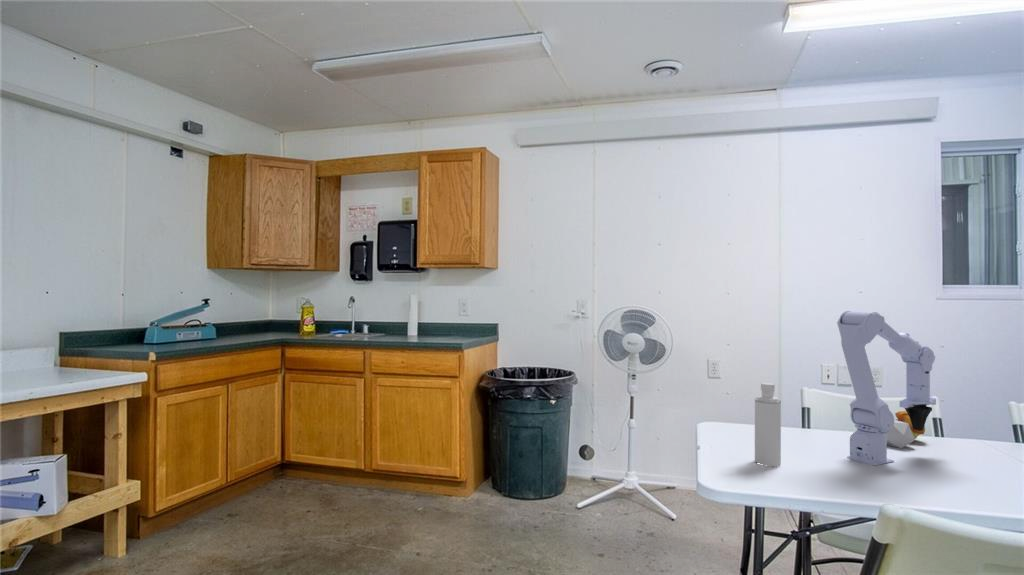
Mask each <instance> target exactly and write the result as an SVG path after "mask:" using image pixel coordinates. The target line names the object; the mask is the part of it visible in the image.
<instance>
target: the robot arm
mask: <svg viewBox="0 0 1024 575" xmlns="http://www.w3.org/2000/svg"><path fill="white" fill-rule="evenodd" d="M836 324H837V328H838V331H839V334H840V340H841V342H840V343H841V347H842V351H843V355H844V359H845V363H846V366H847V369H848V374H849V377H850V380H851V384H852V388H853V391H854V394H855V399H853V400H852V401H851V402H850V403H849V407H850V419H851V422H852V423H853V424H854V427H855V428H856V431H854V432H852V433H853V434H852V435H851V434H850V437H849V455H847V456H846V458H847V459H850V460H854V461H856V462H860V463H863V464H866V465H870V466H878V465H884V464H889V463H895V461H894V459H892V458H888V456H887V454H888V446H887V432H889V430H891V428H892V427H893V425H894V420H895V416H894V414H893V412H892V411H891V410H890V408H889V405H888V404H887V403H886V402H885V400H882V399H881V398H880V397H879V395H878V392H877V388H876V384H875V381H874V380H875V379H874V377H873V373H872V369H871V366H870V361H869V359H868V356H867V355H868V354H867V351H866V348H865V347H866V345H868V344H870V343H871V342H872V341H873V340H874V339H875V337H877V336H879V337H881V338H882V339H883V340H886V341H887V342H888V346H889V348H891V349H892V350H893V351H895V352H896V353H897V354H899V355H900V356H901V360H902V362H904V363H906V369H905V370H906V381H905V382H906V384H905V385H906V387H905V388H906V390H905V391H906V392H905V393H906V395H905V396H906V397H905V398H904V399H901V400H899V408H903V409H905V410H904V411H907V413H908V415H909V417H910V420H911V423H912V427H913V429H915V430H919V431H922V430H923V429H924V426H926V422H927V419H928V417H929V415H930V413H931V412H932V411H933V407H931V406H930V405H934V406H936V405H937V398H935V397H931V378H930V377H931V375H930V374H931V372H932V370H933V365H934V362H935V360H936V355H935V352H934V351H933V350H932V349H931V348H930V347H929V346H922V345H921V344H920V342H919V341H917V340H915V339H913V338H912V337H911V336H910V334H909V333H908V332H897V330H895V329H894V328H893V327H892V326H891V325H889V323H887V322H886V320H885V317H884V316H883V315H881V314H880V313H879V312H876V311H869V312H868V311H852V310H845V311H844V312H842V313H841V315H840V316H839V319H838V320H837V322H836Z"/></svg>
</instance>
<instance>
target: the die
mask: <svg viewBox="0 0 1024 575" xmlns="http://www.w3.org/2000/svg"><path fill="white" fill-rule="evenodd" d="M897 420H898V419H897ZM897 420H896V419H894V425H893V427H892V428H891V430H889V432H887V445H888V446H891V447H895V448H897V447H898V448H899V449H903V448H904V447H906V446H909V444H911V443H912V442H914V441H915V440H916V439H915V438H914V436H913V433H912V431H911V429H910V426H909V424H908V423H905V422H901V421H897Z"/></svg>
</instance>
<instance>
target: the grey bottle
mask: <svg viewBox="0 0 1024 575" xmlns="http://www.w3.org/2000/svg"><path fill="white" fill-rule="evenodd" d="M775 386H776V385H775V383H771V382H761V383H760V391H761V395H759V396H757V397H756V398H754V463H755V462H757V463H760V464H763V465H767V466H779V467H781V466H780V465H781V464H782V461H781V460H782V451H781V450H782V438H781V437H782V434H781V433H782V432H781V431H782V424H781V423H782V419H781V418H782V412H781V411H782V408H781V407H782V406H781V405H782V403H781V402H782V401H781V400H780V399H779V398H778V397H776V396H774V395H775ZM757 463H756V464H757ZM767 466H766V467H767Z"/></svg>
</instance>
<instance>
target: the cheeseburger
mask: <svg viewBox="0 0 1024 575" xmlns="http://www.w3.org/2000/svg"><path fill="white" fill-rule="evenodd" d="M894 415H895V417H896V419H895V420H897V421H901V422H905V423H908V424H909V426H910V429H911V431H912V433H913V436H914V438H915V440H916V439H917V438H918V437H919V436H920V435H924V434H925V431H926V425H924V429H923V430H922V431H919V430H915V429H913V427H912V423H911V420H910V417H909V415H908V413H907V411H906V410H900V411H897V412H895V414H894Z"/></svg>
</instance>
